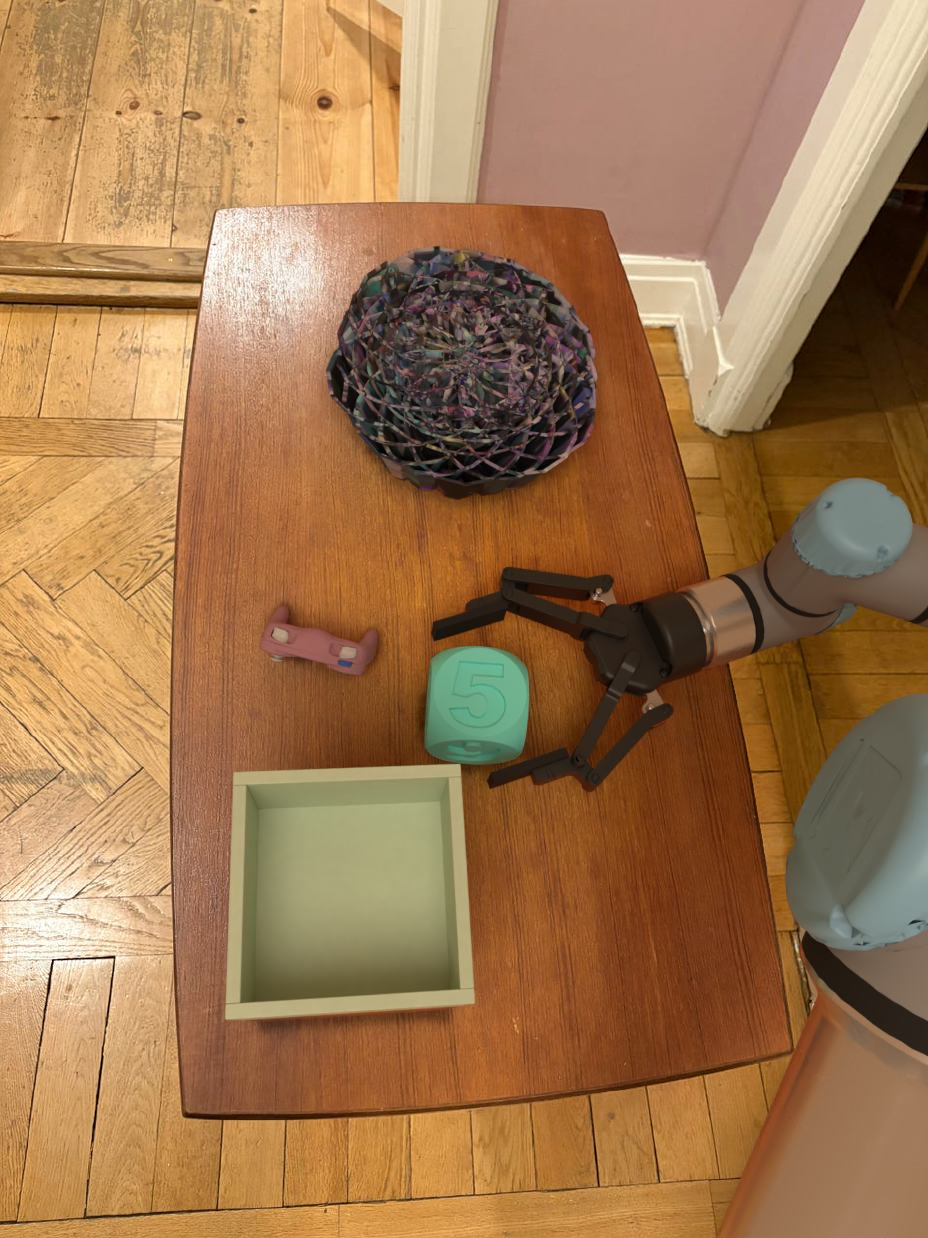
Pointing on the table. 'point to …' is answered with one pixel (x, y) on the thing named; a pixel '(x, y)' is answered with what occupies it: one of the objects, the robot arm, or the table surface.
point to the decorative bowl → (464, 371)
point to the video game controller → (317, 645)
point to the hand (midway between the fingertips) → (460, 704)
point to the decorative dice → (476, 705)
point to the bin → (348, 892)
